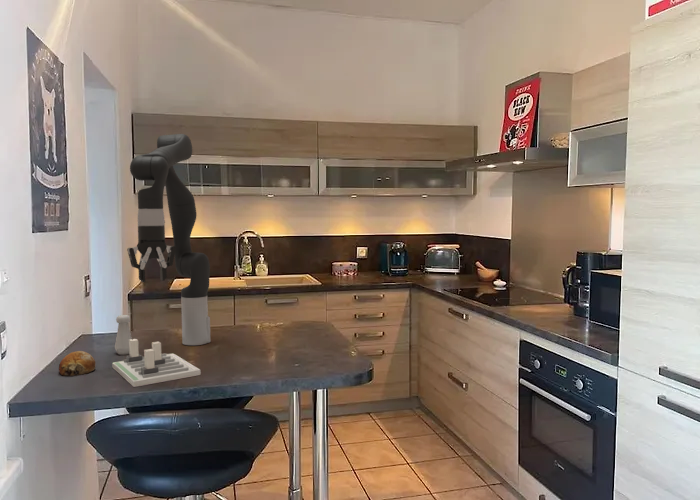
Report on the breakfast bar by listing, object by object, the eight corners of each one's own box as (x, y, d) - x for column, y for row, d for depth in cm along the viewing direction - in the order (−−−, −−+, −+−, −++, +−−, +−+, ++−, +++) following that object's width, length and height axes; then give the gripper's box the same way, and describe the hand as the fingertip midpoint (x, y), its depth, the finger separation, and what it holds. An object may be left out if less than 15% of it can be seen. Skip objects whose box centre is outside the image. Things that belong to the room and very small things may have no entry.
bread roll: (99, 381, 171) (106, 355, 173) (74, 376, 162) (82, 348, 164) (73, 378, 174) (81, 353, 177) (48, 373, 165) (56, 346, 167)
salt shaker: (126, 355, 187) (125, 317, 186) (111, 355, 188) (110, 316, 187) (136, 351, 193) (135, 314, 192) (121, 350, 194) (120, 313, 193)
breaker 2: (155, 371, 162) (154, 348, 162) (158, 374, 160) (157, 350, 159) (141, 374, 160) (140, 350, 159) (144, 376, 158) (143, 352, 157)
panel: (173, 357, 184) (173, 350, 184) (200, 374, 165) (200, 367, 165) (112, 367, 173) (112, 360, 173) (133, 386, 154) (133, 378, 153)
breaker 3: (162, 363, 171) (161, 340, 171) (165, 365, 169) (164, 342, 168) (148, 365, 169) (148, 342, 169) (151, 367, 167) (151, 344, 166)
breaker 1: (139, 360, 175) (138, 338, 175) (142, 362, 173) (141, 339, 172) (126, 362, 173) (125, 339, 172) (128, 364, 170) (128, 341, 170)
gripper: (171, 223, 173) (172, 278, 174) (122, 224, 165) (124, 281, 166) (179, 224, 167) (180, 280, 168) (129, 225, 159) (131, 284, 160)
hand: (152, 280), depth 167 cm, fingers open, 5 cm apart
